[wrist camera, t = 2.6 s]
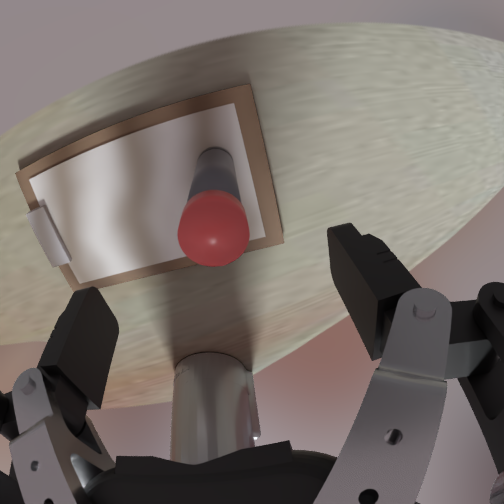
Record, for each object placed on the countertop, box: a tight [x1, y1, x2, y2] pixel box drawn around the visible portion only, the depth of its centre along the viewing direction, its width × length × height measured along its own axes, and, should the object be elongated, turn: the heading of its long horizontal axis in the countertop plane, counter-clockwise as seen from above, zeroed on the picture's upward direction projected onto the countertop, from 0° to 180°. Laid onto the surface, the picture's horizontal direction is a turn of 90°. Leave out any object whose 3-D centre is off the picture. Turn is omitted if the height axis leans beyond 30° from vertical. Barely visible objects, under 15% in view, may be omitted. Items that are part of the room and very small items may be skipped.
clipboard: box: [15, 84, 284, 292], centre depth 24 cm, size 22×14×2 cm, turn 102°
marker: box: [177, 146, 250, 267], centre depth 18 cm, size 3×3×12 cm
